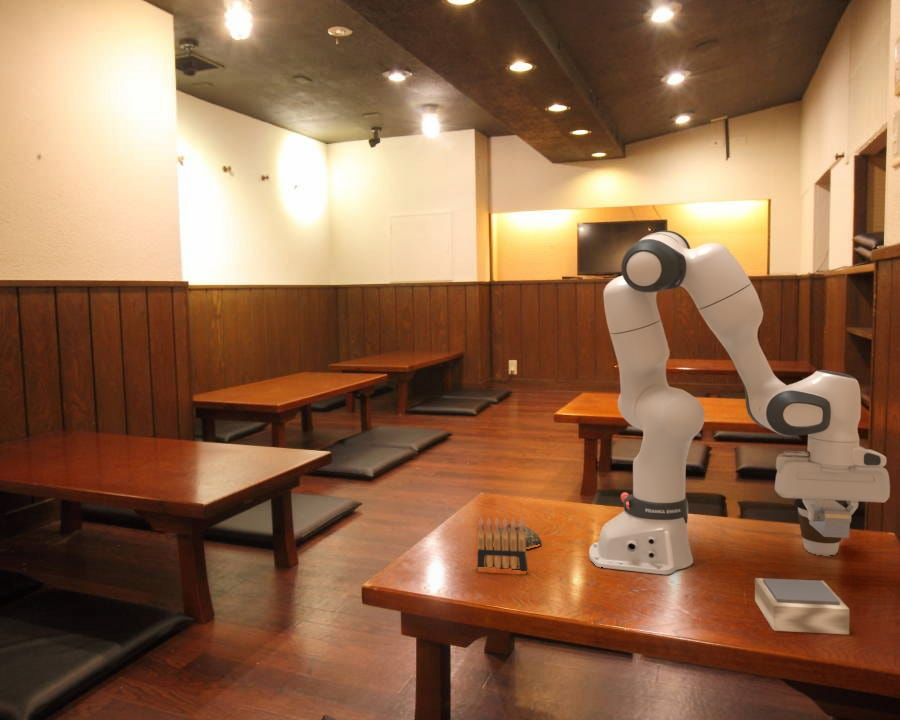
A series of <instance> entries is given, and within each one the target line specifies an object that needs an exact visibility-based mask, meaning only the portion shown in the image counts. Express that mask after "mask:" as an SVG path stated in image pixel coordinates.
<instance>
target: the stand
mask: <svg viewBox="0 0 900 720" xmlns="http://www.w3.org/2000/svg"><path fill="white" fill-rule="evenodd" d="M754 601H755V603H756V605H757V606H758V608H759V609H760V611H761V612H762V615H763V616H764V618H765V619H766V621H767V622H768V624H769V625H770V627H771V630H772V631H773V630H774V632H790V633H791V632H792V633H793V632H794V633H795V632H796V633H813V634H814V633H815V634H832V635H833V634H835V635H836V634H837V635H850V608H849V607H848V606H847V604H845V603H844V601H843V600H842V599H841V598H840V597H839V596H838V595H837V594H836V592H835V591H833V590H832V588H831V587H830V586H829V585H828V584H827V583H826V582H825V580H818V579H817V580H815V579H812V580H810V579H787V578H763V577H755V579H754Z"/></svg>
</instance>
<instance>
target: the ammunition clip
mask: <svg viewBox="0 0 900 720" xmlns="http://www.w3.org/2000/svg"><path fill="white" fill-rule="evenodd" d="M510 524H511V535H510V548H509V535H508V525H509V524H508V521H507V517H504V518H503V521H502V527H500V521H499V518H498V517H496V518H495V520H494V527H493V528H494V530H493V529H492V521H491V518H490V517H489V516H488V518H487V520H486V526H485V525H484V520H483V518H482V517H479V520H478V529H477V531H478V533H477V565H476V566H477V567H485V566H486V567H489V568H492V567H495V568H500V569H509V568H511V569H512V570H521V571H527V570H528V559H527V558H528V557H527V550H526V537H525V528H524V526H525V523H524V519H523V518H520V520H519V523H518V524H519V537H518V539H517V532H516V520H515V517H514V518H513V517H512V519H511V523H510ZM485 527H486V528H485ZM500 528H502V548H501V535H500ZM485 529H486V531H485ZM493 531H494V532H493ZM493 533H494V547H493V535H492V534H493ZM477 567H476V568H477ZM518 567H519V569H518Z"/></svg>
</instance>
